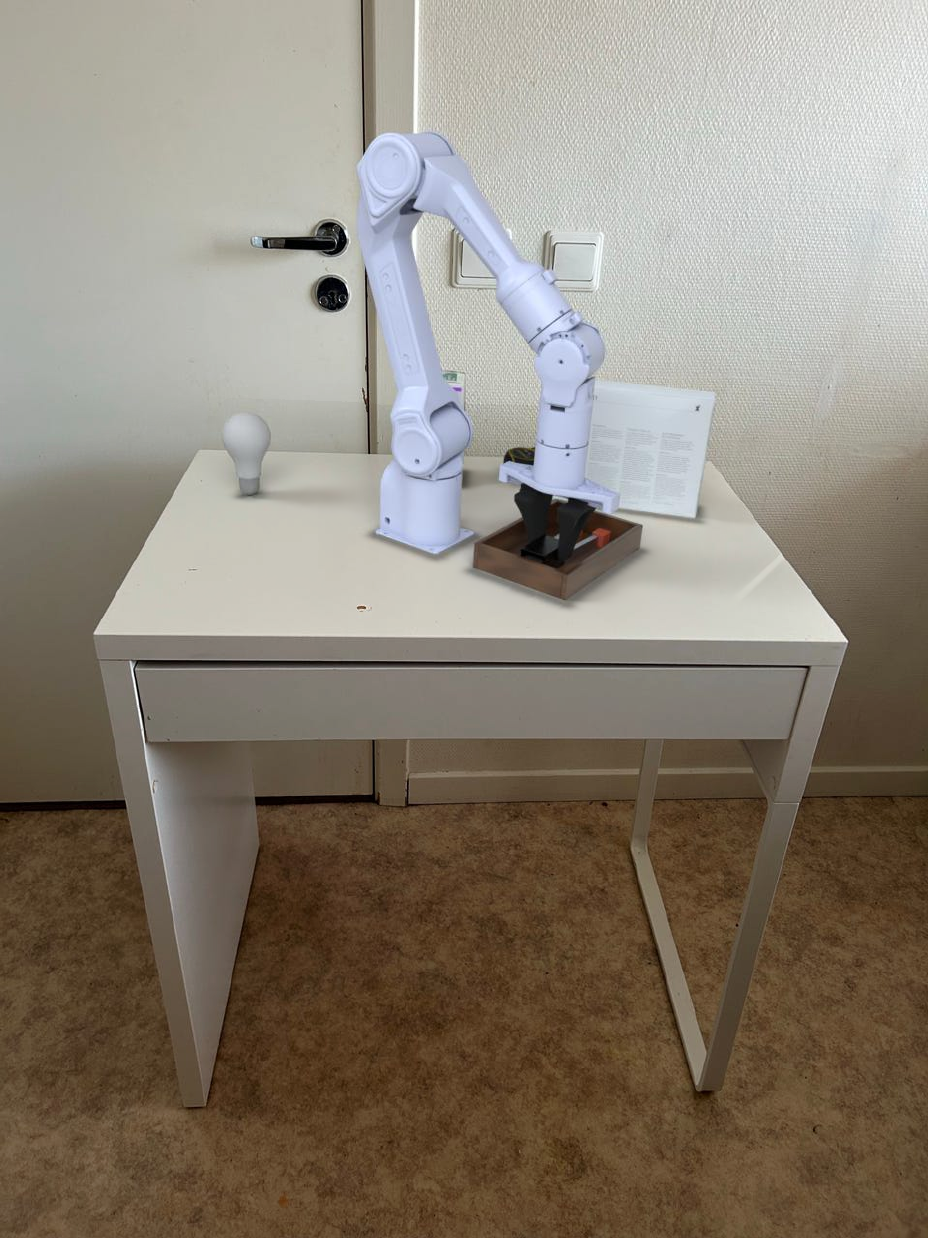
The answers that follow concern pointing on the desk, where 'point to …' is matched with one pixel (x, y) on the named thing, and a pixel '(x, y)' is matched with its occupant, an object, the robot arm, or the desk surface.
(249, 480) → the lightbulb
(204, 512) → the desk surface
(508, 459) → the tape measure
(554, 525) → the tray
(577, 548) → the tongs
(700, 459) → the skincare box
